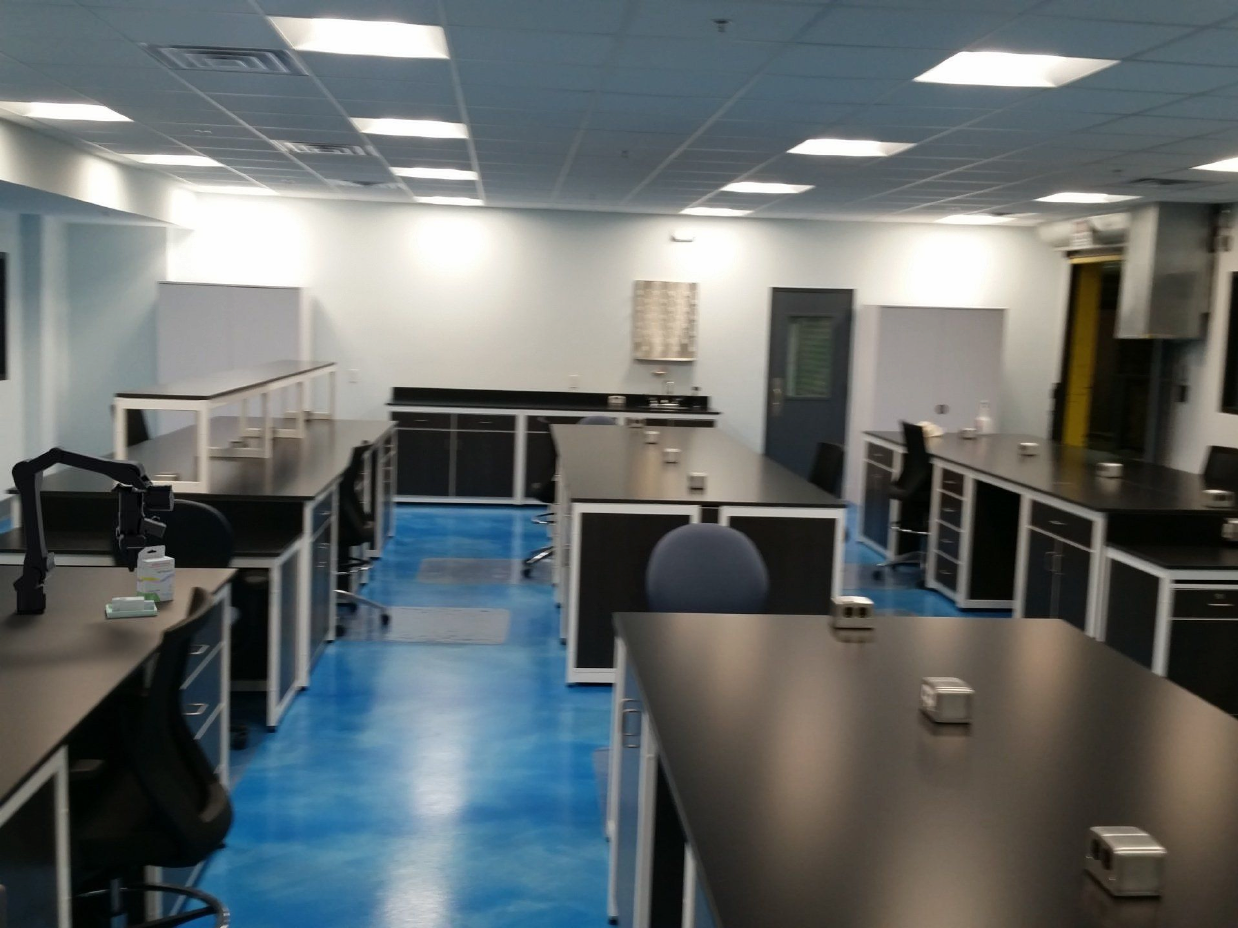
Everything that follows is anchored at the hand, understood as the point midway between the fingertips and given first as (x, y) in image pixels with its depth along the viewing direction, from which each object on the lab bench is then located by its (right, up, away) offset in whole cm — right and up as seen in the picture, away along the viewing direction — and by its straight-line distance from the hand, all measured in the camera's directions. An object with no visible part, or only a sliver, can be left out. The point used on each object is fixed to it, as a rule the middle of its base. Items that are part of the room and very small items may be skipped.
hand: (130, 568), depth 310 cm
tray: (0, -12, +1) cm, 12 cm away
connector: (0, -11, +1) cm, 11 cm away
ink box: (0, -10, +16) cm, 19 cm away
